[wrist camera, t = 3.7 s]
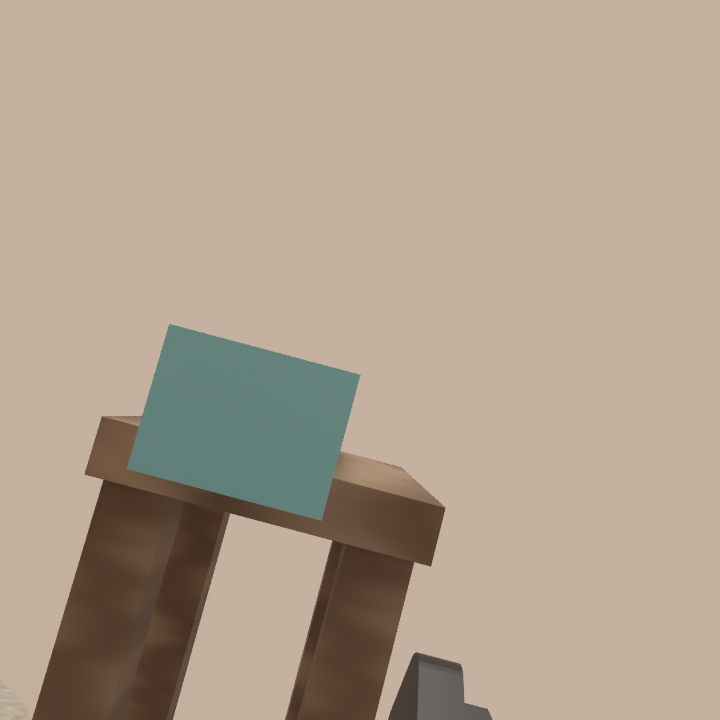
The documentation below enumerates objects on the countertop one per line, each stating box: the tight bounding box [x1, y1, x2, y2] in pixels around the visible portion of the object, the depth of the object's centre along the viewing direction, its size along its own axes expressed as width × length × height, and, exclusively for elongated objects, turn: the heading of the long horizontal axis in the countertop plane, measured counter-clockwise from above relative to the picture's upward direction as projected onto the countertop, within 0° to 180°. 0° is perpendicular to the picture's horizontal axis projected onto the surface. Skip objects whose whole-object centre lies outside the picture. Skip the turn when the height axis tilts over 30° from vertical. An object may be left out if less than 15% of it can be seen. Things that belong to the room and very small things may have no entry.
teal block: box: [127, 324, 360, 521], centre depth 25 cm, size 4×24×3 cm, turn 1°
